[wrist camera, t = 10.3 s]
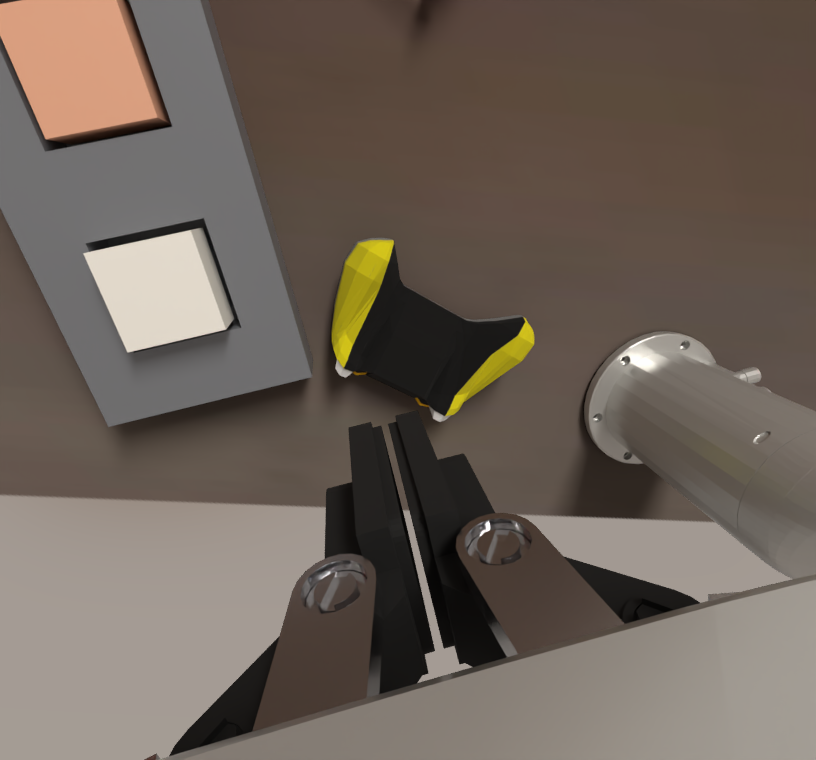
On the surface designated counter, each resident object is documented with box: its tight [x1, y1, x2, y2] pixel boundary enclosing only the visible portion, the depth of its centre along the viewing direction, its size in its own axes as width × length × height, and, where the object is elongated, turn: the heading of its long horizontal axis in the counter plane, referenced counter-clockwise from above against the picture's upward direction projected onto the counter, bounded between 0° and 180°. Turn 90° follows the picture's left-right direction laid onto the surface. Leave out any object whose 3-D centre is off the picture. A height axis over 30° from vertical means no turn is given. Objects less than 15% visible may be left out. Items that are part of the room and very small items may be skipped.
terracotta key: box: [0, 0, 172, 145], centre depth 26 cm, size 6×6×3 cm
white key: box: [83, 227, 234, 353], centre depth 30 cm, size 6×6×3 cm
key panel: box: [0, 0, 313, 427], centre depth 30 cm, size 14×28×4 cm, turn 11°
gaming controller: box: [331, 238, 534, 422], centre depth 35 cm, size 15×6×10 cm
